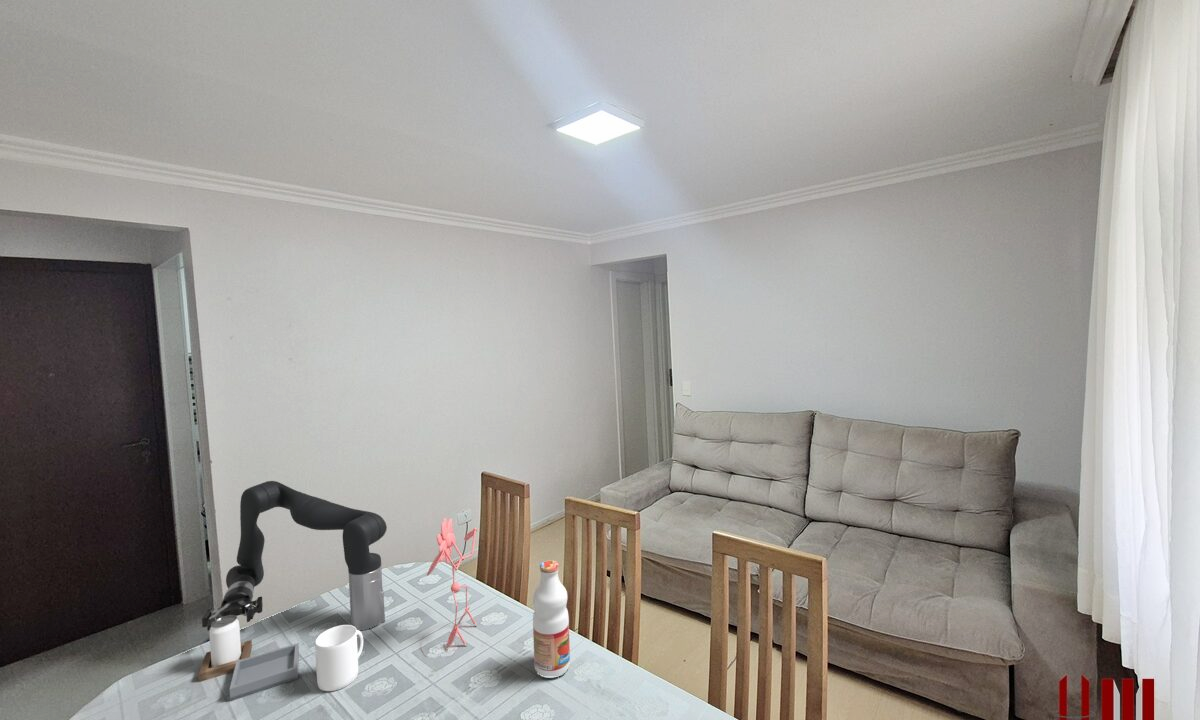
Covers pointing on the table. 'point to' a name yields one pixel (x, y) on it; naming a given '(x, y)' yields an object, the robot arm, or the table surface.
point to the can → (225, 640)
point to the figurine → (445, 543)
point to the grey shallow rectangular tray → (265, 671)
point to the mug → (337, 657)
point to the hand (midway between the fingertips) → (230, 623)
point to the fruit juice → (550, 623)
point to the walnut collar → (224, 668)
